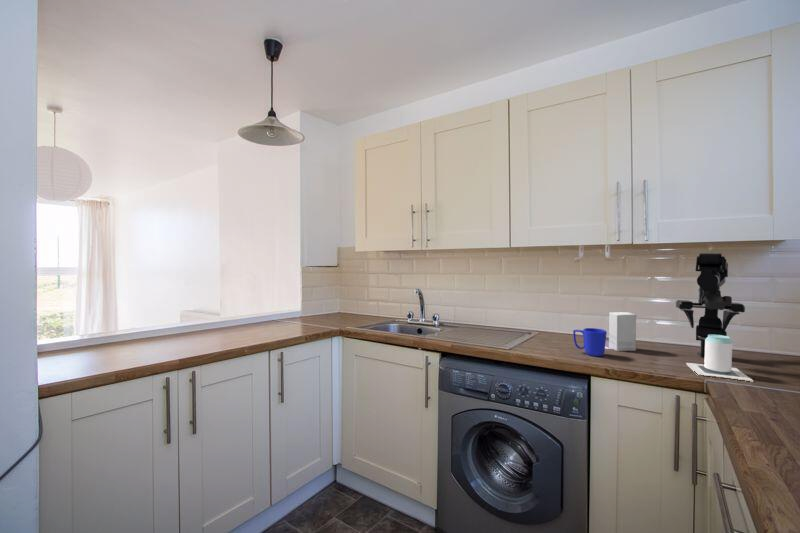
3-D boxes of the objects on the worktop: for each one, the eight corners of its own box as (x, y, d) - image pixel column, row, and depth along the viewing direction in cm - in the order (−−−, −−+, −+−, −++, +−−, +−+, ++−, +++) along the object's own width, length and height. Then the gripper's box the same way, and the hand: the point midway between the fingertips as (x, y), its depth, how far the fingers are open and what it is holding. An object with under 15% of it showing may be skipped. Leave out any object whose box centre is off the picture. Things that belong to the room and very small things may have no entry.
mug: (574, 349, 155) (575, 326, 154) (607, 353, 148) (607, 329, 148) (571, 353, 148) (571, 329, 148) (604, 358, 141) (605, 333, 141)
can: (732, 375, 120) (733, 339, 120) (704, 371, 124) (706, 336, 124) (729, 369, 126) (731, 335, 125) (703, 366, 130) (704, 332, 129)
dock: (686, 364, 134) (686, 362, 134) (735, 369, 128) (735, 367, 128) (698, 375, 122) (698, 373, 122) (753, 382, 116) (753, 380, 116)
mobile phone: (606, 347, 156) (596, 339, 170) (606, 349, 156) (596, 341, 170) (626, 348, 154) (615, 340, 168) (626, 351, 154) (615, 342, 168)
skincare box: (627, 347, 158) (628, 311, 158) (636, 351, 152) (637, 314, 151) (607, 347, 158) (608, 311, 158) (616, 351, 152) (617, 314, 151)
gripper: (684, 288, 130) (682, 331, 131) (752, 290, 122) (750, 336, 123) (676, 285, 140) (674, 325, 141) (739, 287, 132) (737, 329, 133)
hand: (708, 329), depth 134 cm, fingers open, 9 cm apart
